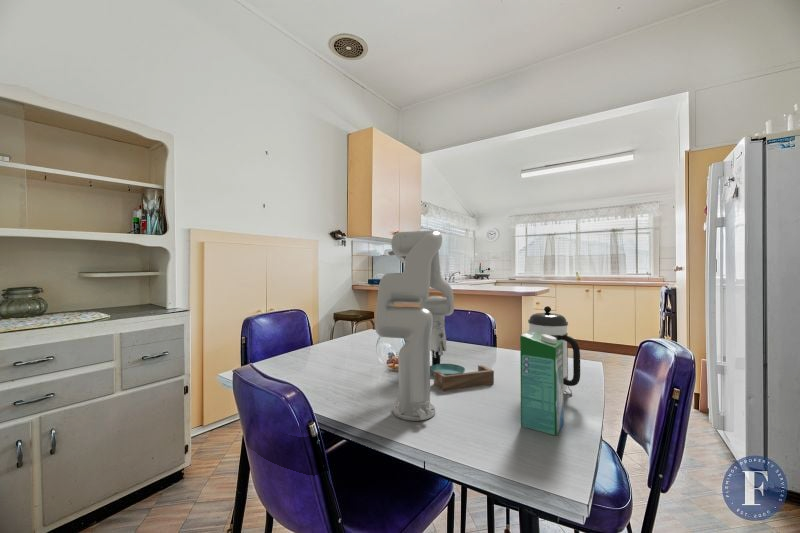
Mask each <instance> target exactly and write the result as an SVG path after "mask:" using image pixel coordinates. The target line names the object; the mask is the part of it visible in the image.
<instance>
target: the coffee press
mask: <svg viewBox="0 0 800 533" xmlns="http://www.w3.org/2000/svg"><path fill="white" fill-rule="evenodd" d="M543 311H544V312H538V313H533V314H531V316H530V317H529V319H528V321H527V323H528V327H529V328H528V329H529V330H528V331H533V332H536V333H539V334H547V335H551V336H553V337H555V338H557V340H559V341H562V342H563V393H566V394H567V396H572V395H573V391H572V389H571V388H570V387H575V386H577V385H578V384H579V382H580V380H581V350H580V347H579V344H578V342H577V340H576V339H575V338H573V337H572V336H569V335H568V332H567V331H568V326H569V322H568V321H567V319H566V317H565V316H563V315H561V314H559V313H552V312H551V311H552V309H551V307H550V306H545V307H544V308H543ZM569 345H570V346H571V348H572V354H573V356H572V357H573V358H572V361H573V365H572V367H573V369H572V370H573V371H572V372H573V376H572V379H570V380H569V360H568V359H569V355H568V354H569V348H568V346H569ZM567 389H568V390H569V391H570V393H569V392H567Z"/></svg>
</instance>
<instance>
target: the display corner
mask: <svg viewBox="0 0 800 533" xmlns="http://www.w3.org/2000/svg"><path fill="white" fill-rule="evenodd" d="M494 373H495V370H493V369H491V368H489V367H487V366H484V365H482V364H478V365H477V371H469V372H464V373H461V374H453V375H444V374H443V373H441V372H439V371H438V370H436V371H434V374H433V385H434V386H436V387H437V388H438V389H440V390H442V392H449V391H455V390H462V389H471V388H478V387H483V386H490V385H494V384H495V380H494V379H495V378H494V376H495V374H494Z"/></svg>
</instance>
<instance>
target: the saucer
mask: <svg viewBox="0 0 800 533" xmlns="http://www.w3.org/2000/svg"><path fill="white" fill-rule="evenodd" d="M436 370H438V371H439V372H441V373H443V374H444V375H453V374H461V373H465V371H466V368H465V367H464V366H462V365H458V364H453V363H440V364H435V365H432V364H431V365H430V373H432V374H433V375H434V371H436Z"/></svg>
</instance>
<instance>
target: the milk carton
mask: <svg viewBox="0 0 800 533" xmlns="http://www.w3.org/2000/svg"><path fill="white" fill-rule="evenodd" d="M519 339H520V342H519V344H520V346H519V347H520V426H521V427H524V428H527V429H530V430H535V431H537V432H542V433H545V434H549V435H552V436H553V435H554V436H558V434H559V432H560V429H562V426H563V425H564V421H565V419H564V415H565V414H564V413H565V412H564V391H563V342H562V341H559V340H557V338H555V337H553V336H551V335H547V334H539V333H536V332H533V331H529V330H528V331H526V332H524V333H523V334H521V335H520V337H519Z"/></svg>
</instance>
